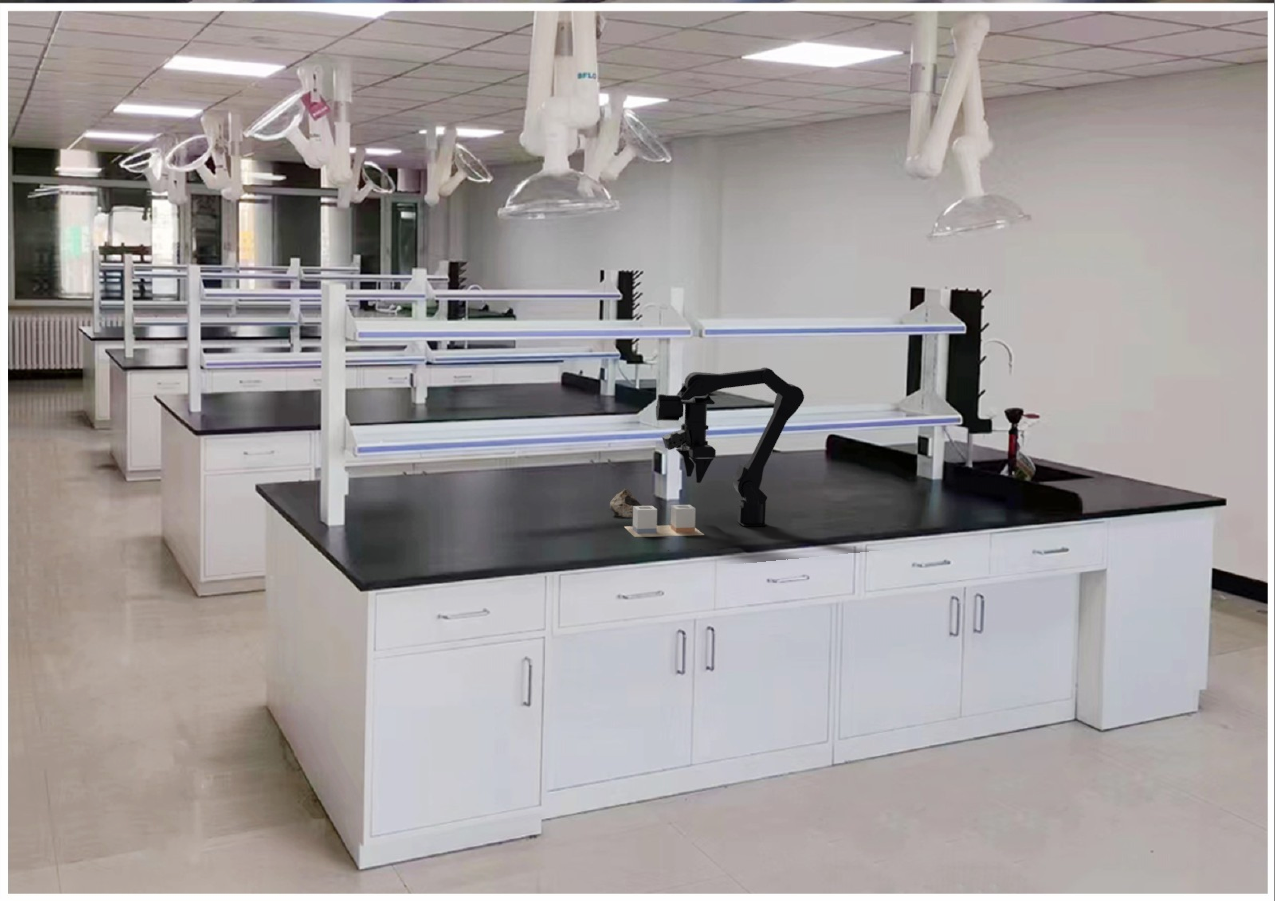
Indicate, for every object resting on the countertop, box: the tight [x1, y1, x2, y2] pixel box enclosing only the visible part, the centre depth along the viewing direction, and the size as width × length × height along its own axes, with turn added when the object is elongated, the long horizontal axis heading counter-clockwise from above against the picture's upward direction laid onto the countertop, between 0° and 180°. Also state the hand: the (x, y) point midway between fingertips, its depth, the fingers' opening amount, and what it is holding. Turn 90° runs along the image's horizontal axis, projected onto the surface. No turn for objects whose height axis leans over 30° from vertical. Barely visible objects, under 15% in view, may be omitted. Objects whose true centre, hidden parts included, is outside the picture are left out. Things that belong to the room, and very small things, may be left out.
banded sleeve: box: [670, 504, 696, 533], centre depth 324 cm, size 5×5×6 cm
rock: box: [609, 488, 643, 518], centre depth 342 cm, size 9×7×10 cm
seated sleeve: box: [632, 505, 658, 534], centre depth 321 cm, size 5×5×6 cm
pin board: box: [624, 524, 705, 538], centre depth 323 cm, size 18×12×4 cm, turn 104°
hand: (693, 479), depth 335 cm, fingers open, 9 cm apart
